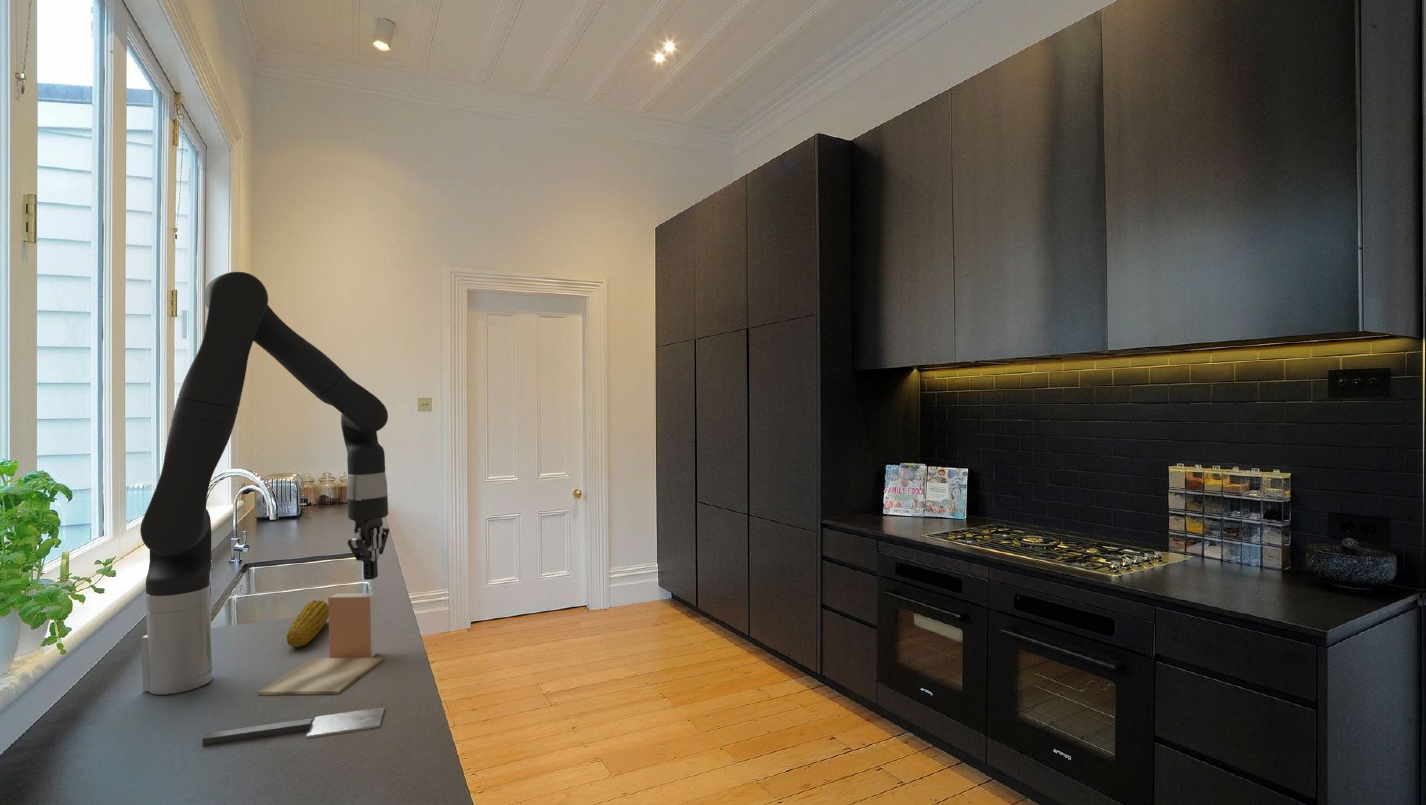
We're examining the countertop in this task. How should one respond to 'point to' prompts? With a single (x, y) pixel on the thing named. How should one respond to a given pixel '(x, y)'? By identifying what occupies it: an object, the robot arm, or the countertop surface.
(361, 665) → the board
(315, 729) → the knife with black handle
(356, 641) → the sponge
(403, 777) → the countertop surface
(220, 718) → the countertop surface
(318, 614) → the food
